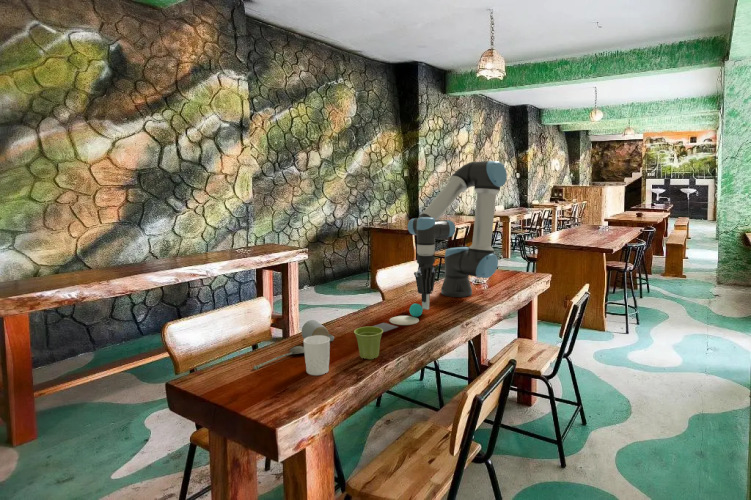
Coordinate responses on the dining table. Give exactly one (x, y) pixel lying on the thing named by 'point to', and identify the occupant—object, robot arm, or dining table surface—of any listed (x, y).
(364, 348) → the plant pot
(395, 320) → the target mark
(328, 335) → the ceramic mug
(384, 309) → the dining table surface
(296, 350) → the soupspoon
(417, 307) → the ball
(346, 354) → the dining table surface
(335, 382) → the dining table surface
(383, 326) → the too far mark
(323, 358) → the white cup
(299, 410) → the dining table surface
